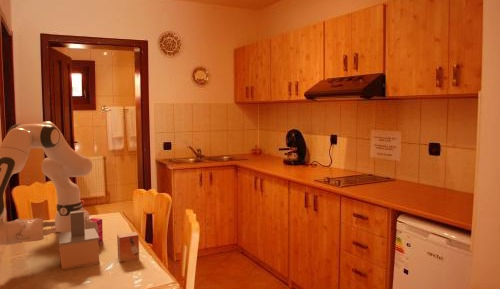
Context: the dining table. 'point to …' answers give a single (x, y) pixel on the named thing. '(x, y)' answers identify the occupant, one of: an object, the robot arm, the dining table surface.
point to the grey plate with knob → (77, 231)
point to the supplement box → (97, 225)
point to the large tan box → (79, 254)
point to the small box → (128, 246)
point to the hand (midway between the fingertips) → (55, 226)
